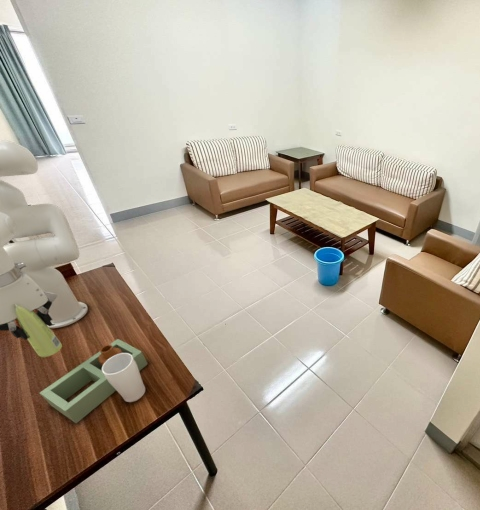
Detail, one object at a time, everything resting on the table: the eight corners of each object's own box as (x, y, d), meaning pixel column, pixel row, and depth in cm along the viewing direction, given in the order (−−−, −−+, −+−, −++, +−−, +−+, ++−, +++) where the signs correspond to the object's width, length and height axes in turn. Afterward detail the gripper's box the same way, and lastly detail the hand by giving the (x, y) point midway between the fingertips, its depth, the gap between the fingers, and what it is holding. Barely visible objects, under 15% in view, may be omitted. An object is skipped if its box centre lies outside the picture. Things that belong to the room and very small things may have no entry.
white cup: (128, 410, 75) (108, 379, 67) (116, 396, 78) (96, 365, 70) (153, 391, 80) (138, 360, 72) (141, 379, 83) (125, 348, 75)
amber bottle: (104, 374, 83) (89, 352, 77) (122, 360, 87) (109, 338, 81) (116, 381, 82) (102, 359, 76) (133, 367, 86) (122, 345, 80)
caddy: (51, 405, 74) (39, 392, 71) (124, 351, 90) (117, 338, 87) (76, 423, 71) (65, 411, 68) (147, 364, 87) (141, 351, 84)
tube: (30, 357, 74) (-11, 305, 64) (46, 342, 78) (11, 291, 68) (52, 358, 74) (16, 306, 64) (67, 343, 79) (35, 292, 68)
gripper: (33, 255, 70) (65, 306, 80) (-71, 292, 56) (-17, 348, 66) (50, 263, 68) (81, 315, 78) (-53, 305, 54) (0, 360, 64)
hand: (35, 329), depth 72 cm, fingers closed on tube, 4 cm apart
